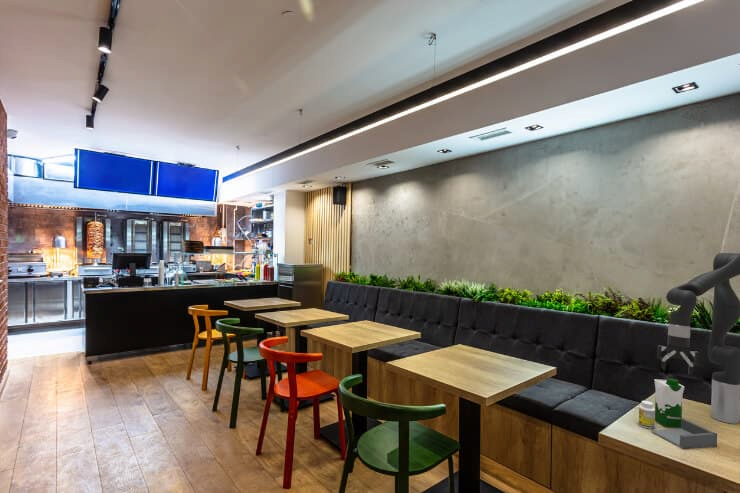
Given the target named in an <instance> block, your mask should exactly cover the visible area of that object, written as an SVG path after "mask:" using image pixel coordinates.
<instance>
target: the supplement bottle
mask: <svg viewBox="0 0 740 493" xmlns="http://www.w3.org/2000/svg"><path fill="white" fill-rule="evenodd" d="M655 422H656V420H655V407H654V404H653V402H652V401H648V400H641V404H640V405H639V406H638V424H639V426H640V427H642V428H645V429H649V430H653V429H655V427H656V423H655Z"/></svg>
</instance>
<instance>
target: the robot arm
mask: <svg viewBox="0 0 740 493" xmlns="http://www.w3.org/2000/svg"><path fill="white" fill-rule="evenodd" d="M712 268H713V269H712V270H711V271H708V272H705V273H701V274H700V275H697V276H695V277H694V278H693V279H691V280H689V281H688V282H686V283H684V284H683V283H682V284H681V285H678V286H674V287H673V288H670V289H669V291H667V293H666V296H665V298H666V301H667V302H668V303H669V304H670V305H674V306H679V308H678V310H672V311H670V313H669V324H668V329H667V330H668V331H667V345H666V346H664V345H660V344H659V345H658V346H657V354H656V359H658V360H659V361H661V366H660V367H661V369H663V371H666V366H667V360H668V359H670V358H673V359H679V360H685V361H686V363H687V364H688V369H687V370H688V371H687V372H688V373H687V374H688V376H691V375H692V374H693V373H694V367H699V366H700V353H699V352H698V351H696V350H695V351H691V350H690V342H691V317H692V315H693V313H694V311H695V307H696V306H697V302H698V300H697V298H698V297H700V296H702V295H704V294H706V293H707V292H709V290H712V288H713V303H712V322H711V330H710V332H711V334H710V337H709V344H708V347H707V348H708V350H707V356H708V359H709V361H710V362H711V363H713V364H714V365H715V364H716V365H719V366H723V367H725V370H724V371H714V372H713V373H712V374H711V402H710V417H711V418H712V419H714V420H716V421H720V422H723V423H728V424H732V425H733V424H735V425H736V424H739V422H740V348H738V347H735V346H729V345H725V339H726V336H727V334H728V333H729V332H730V330H731V329H732V328H733V327H734V326H735V325H736V324H737V323H738V322H739V321H740V298H739V297H738V295H737V294H736V292H735V290H734V289H733V287H732V286H731V283H730V280H731V279H733V278H735V277H737V276H740V252H739V253H736V252H733V253H732V252H719V253H718V254H716V255H714V259H713V262H712ZM663 351H666V352H667V353H666V354H665V355H664V356H663V357H662V355H661V354H662V352H663ZM690 355H692V357H693V358H694V362H692V361H691V360H690V359H689V356H690Z"/></svg>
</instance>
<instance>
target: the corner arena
mask: <svg viewBox="0 0 740 493" xmlns="http://www.w3.org/2000/svg"><path fill="white" fill-rule="evenodd" d="M650 431H651V433H652V434H653V435H655V436H657V437H659V438H661V439H663V440H664V441H667V442H668V443H670V444H672V445H674V446H676V447H678V448H680V449H682V450H688V449H689V450H691V449H701V448H713V447H717V446H718V433H716V432H714V431H712V430H710V429H708V428H705V427H704V426H701V425H699V424H696V423H694V422H692V421H691V420H690V421H689V420H687V419H685V418H682V419H681V428H666V429H654V430H653V429H650Z"/></svg>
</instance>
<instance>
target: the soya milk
mask: <svg viewBox="0 0 740 493" xmlns="http://www.w3.org/2000/svg"><path fill="white" fill-rule="evenodd" d="M653 380H654V387H655V399H654V401H655V402H654V409H655V422H657V423H659V424H660V425H661V426H663V427H664V428H666V427H667V428H674V429H678V428H681V419H683V394H684V391H685V386H684V385H682V384H680V383H679V379H677V378H673V377H672V378H671V377H668V378H666V379H653Z"/></svg>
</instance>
